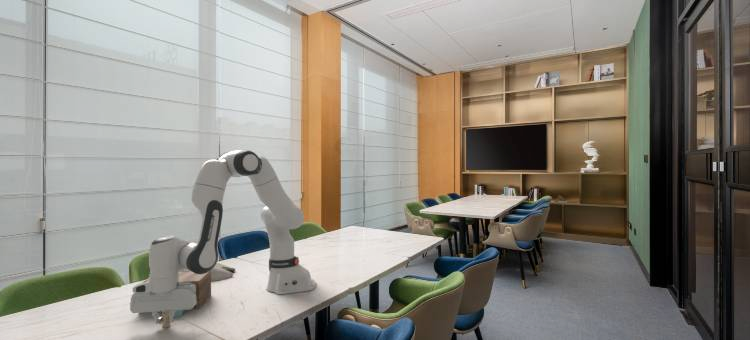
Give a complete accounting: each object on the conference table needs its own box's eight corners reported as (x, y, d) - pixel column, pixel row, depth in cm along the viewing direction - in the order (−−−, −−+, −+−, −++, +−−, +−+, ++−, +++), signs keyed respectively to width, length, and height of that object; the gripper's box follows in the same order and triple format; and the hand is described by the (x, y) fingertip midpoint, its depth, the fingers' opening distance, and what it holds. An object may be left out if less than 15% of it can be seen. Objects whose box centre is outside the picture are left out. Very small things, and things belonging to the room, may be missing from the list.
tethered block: (185, 310, 131) (184, 296, 131) (174, 326, 117) (174, 311, 117) (169, 312, 129) (169, 297, 129) (156, 329, 116) (156, 313, 116)
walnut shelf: (211, 295, 146) (210, 270, 146) (199, 308, 132) (199, 280, 132) (156, 299, 143) (156, 273, 143) (138, 312, 129) (138, 284, 129)
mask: (177, 257, 178) (237, 253, 186) (177, 273, 178) (236, 269, 186) (164, 267, 159) (231, 263, 167) (163, 286, 159) (231, 281, 167)
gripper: (199, 278, 121) (199, 316, 121) (137, 282, 118) (137, 321, 118) (192, 284, 114) (192, 324, 114) (127, 288, 111) (127, 329, 111)
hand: (164, 322), depth 116 cm, fingers closed on tethered block, 2 cm apart
